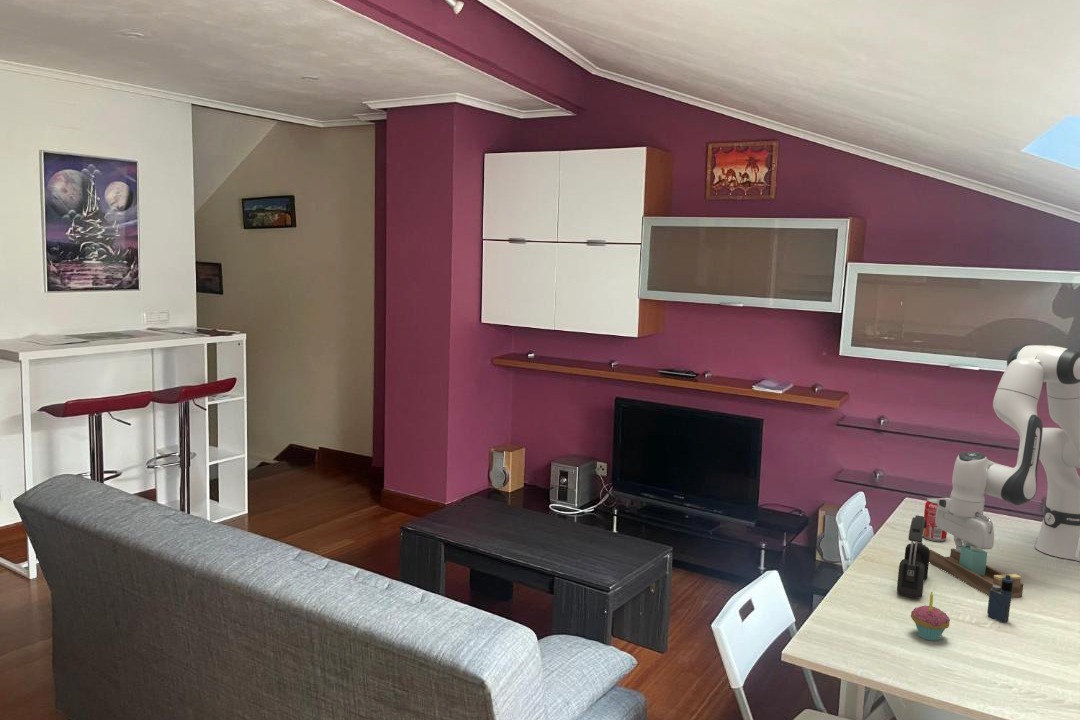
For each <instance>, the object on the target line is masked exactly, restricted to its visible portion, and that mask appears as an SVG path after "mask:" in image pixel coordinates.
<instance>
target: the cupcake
mask: <svg viewBox="0 0 1080 720" xmlns="http://www.w3.org/2000/svg"><path fill="white" fill-rule="evenodd" d="M933 601H934V594H933V591H931V593H930V594H929V604H928V605H921V606H918V607H914V609H913V610H911V612H910V618H911V620H912V621H913V623H914V624H915V626H916V629H917V630H916V631H917V635H918V636H919V637H921V638H922V639H925V640H928V641H933V642H934V641H938V640H940V639H941V636H942V635H943V634H944V631H945V630H946V629H948V628H949V627H950V622H951V620H950V619H951V618H950V617H949V616H948V614H947V613H946V612H944V611H943V610H941V609H940V608H938V607H936V606H933V605H934V604H933V603H934V602H933Z"/></svg>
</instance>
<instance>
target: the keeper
mask: <svg viewBox="0 0 1080 720" xmlns="http://www.w3.org/2000/svg"><path fill="white" fill-rule="evenodd" d="M987 559H988V551H986V550H985V549H980V548H978V547H976V546H974V545H971V546H966V547H961V551H960V561H959V565H961V566H963V567H965V568H967V569H968V570H970V571H972V572H974V573H976V574H978V575H980V576H985V570H986V565H987Z"/></svg>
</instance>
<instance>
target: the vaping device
mask: <svg viewBox="0 0 1080 720" xmlns="http://www.w3.org/2000/svg"><path fill="white" fill-rule="evenodd" d="M1005 575H1006V578H1002V587H1000V586H998V585H992V589H991V590H990V593H989V596H988V601H987V602H988V603H987V616H988V617H989V618H992V619H994V620H996V621H998V622H1000V623H1008V622H1009V619H1010V611H1011V602H1012V598H1011V596H1012V595H1011V594H1012V585H1013V580H1012V579H1010V577H1011V576H1009V575H1007V574H1005Z"/></svg>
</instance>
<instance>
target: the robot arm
mask: <svg viewBox="0 0 1080 720" xmlns="http://www.w3.org/2000/svg"><path fill="white" fill-rule="evenodd" d="M1006 366H1007V367H1006V368H1005V370H1004V372H1003V374H1002V376H1001V379H1000V381H999V383H998V385H997V388H996V391H995V394H994V397H993V401H992V408H993V410H994V413H995V415H996V416H997V417H998V418H999V420H1001V421H1002V422H1004V424H1006V425H1008V426H1010V428H1012V429H1013V430H1014V431H1015V432H1017V434H1018V437H1019V447H1018V453H1017V459H1016V465H1015V466H1014V467H1011V466H1008V465H1003V464H1000V463H998V462H994V461H992V460H989V459H988V458H987V456H986V454H984V453H982V452H978V451H964V452H961V453H959V454H958V455H957V457H956V459H955V461H954V466H953V471H952V480H951V481H952V490H951V492H950V496H949V497H941V498H939V497H938V498H939V499H938V500H937V504H938V505H939V506H938V507H937V511H936V519H935V523H936V526H937V528H939V529H941V530H943V531H945V532H947V534H949V535H952V536H953V541H954V545H955V549H956V551H957V552H959V553H960V551H961V547H966V546H971V545H974V546H976V547H978V548H980V549H982V550H992V548H993V547H994V545H995V529H994V523H993V522H992V520H991V518H990V517H989V516H986V515H984V508H985V499H986V498H985V495H988V496H990V497H994V498H997V499H1000V500H1003V501H1005V502H1007V503H1010V504H1013V505H1015V506H1021V505H1024V504H1027V503H1028V502H1030V501H1032V499H1034V497H1035V496H1036V494H1037V491H1038V468H1039V466H1038V465H1039V462H1040V463H1041V465H1042V466H1043V469H1044V472H1045V475H1046V479H1047V493H1046V503H1045V504H1044V507H1043V509H1042V511H1043V513H1042V516H1043V519H1042V521H1041V524H1040V529H1039V531H1038V532H1039V533H1038V536H1037V537H1038V538H1036V540H1035V545H1034V548H1035V549H1037V550H1038V551H1040V552H1042V553H1044V554H1046V555H1050V556H1052V557H1057V558H1059V559H1060V558H1061V559H1067V560H1073V561H1076V562H1077V561H1078V562H1080V475H1079V474H1078V471H1077V469H1079V470H1080V350H1079V349H1075V348H1071V347H1069V348H1067V347H1062V346H1056V345H1042V344H1041V345H1040V344H1036V345H1035V344H1031V343H1030V344H1029V343H1028V344H1027V343H1025V344H1019V345H1016V346H1014V347H1013V348H1012V350H1010V351H1009V353H1008V355H1007V358H1006ZM1044 383H1046V394H1047V395H1046V397H1047V405H1048V414H1049V417H1050V419H1051V420H1052V421H1053V422H1054V423H1055V424H1056V425H1057V426H1059V428H1058V427H1043V421H1042V419H1041V418H1040V417H1039V415H1038V404H1039V400H1040V397H1041V393H1042V389H1043V384H1044Z"/></svg>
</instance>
